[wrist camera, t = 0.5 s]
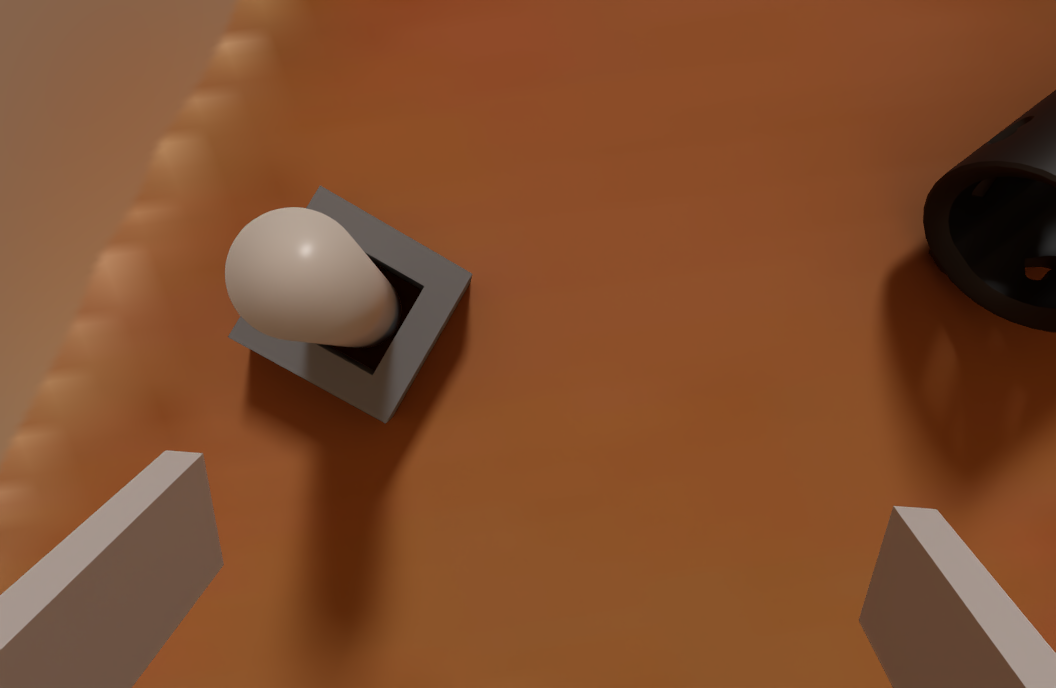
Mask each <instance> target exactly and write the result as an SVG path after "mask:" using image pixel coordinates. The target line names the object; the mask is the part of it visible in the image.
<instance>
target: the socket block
mask: <svg viewBox="0 0 1056 688" xmlns="http://www.w3.org/2000/svg"><path fill="white" fill-rule="evenodd" d="M306 209H311V210H315V211H317V212H320V213H323V214H325V215H327V216H329V217H330V218H332V219H333V220H335V221H336V222H338V223H339V224H340V225H341V226H342V227H343V228H344V229H345V230H346V231H347V232H348V233H349V234H350V235H351V237H352V238H353V239H354V240H355V241H356V243H357V244H358V245H359V246H360V247H361V249H362V250H363V251H364V252H365V253H366V255H367V256H368V257H369V258H370V259H371V261H372V262H374V263H375V264H377V265H379V266H381V267H382V268H384V269H386V270H388V271H389V272H391V273H393V274H395V275H396V276H398V277H400V278H402V279H403V280H405V281H407V282H408V283H410V284H412V285H414V286H415V287H417V288H419V289H421V290H422V292H421V293H420V295H419V297H418V298H417V300H416V302H415V304H414V305H413V307H412V309H411V310H410V312H409V314H408V315H407V317H406V319H405V321H404V322H403V324H402V326H401V327H400V329H399V331H398V333H397V334H396V336H395V338H394V339H393V341H392V343H391V345H390V346H389V348H388V350H387V351H386V353H385V355H384V357H383V358H382V360H381V362H380V363H379V365H378V367H377V369H376V370H375V371H374V370H373V369H371V368H369V367H367V366H365V365H364V364H362V363H360V362H358V361H356V360H355V359H353V358H351V357H349V356H347V355H346V354H344V353H342V352H340V351H339V350H337V349H335V348H333V347H331V346H330V345H326V344H316V343H307V342H298V341H289V340H282V339H277V338H274V337H271V336H268V335H266V334H264V333H262V332H260V331H258V330H257V329H255V328H253V327H252V326H251V325H250V324H248V323H247V322H246V321H245V320H244V319H243V318H242V317H241V316H240V318H239V320H238V321H237V323H236V325H235V326H234V328H233V330H232V331H231V333H230V335H229V336H228V337H229V338H231V339H233V340H234V341H236V342H238V343H240V344H242V345H243V346H245V347H247V348H249V349H251V350H253V351H254V352H256V353H258V354H260V355H262V356H263V357H265V358H267V359H269V360H271V361H273V362H274V363H276V364H278V365H280V366H282V367H283V368H285V369H287V370H289V371H291V372H293V373H294V374H296V375H298V376H300V377H302V378H304V379H305V380H307V381H309V382H311V383H313V384H314V385H316V386H318V387H320V388H322V389H324V390H325V391H327V392H329V393H331V394H333V395H334V396H336V397H338V398H340V399H342V400H344V401H345V402H347V403H349V404H351V405H353V406H354V407H356V408H358V409H360V410H362V411H364V412H365V413H367V414H369V415H371V416H373V417H375V418H376V419H378V420H380V421H382V422H384V423H385V424H386V423H387V422H388V421H389V420H390V419H391V418H392V417H393V415H394V414H395V412H396V410H397V408H398V407H399V405H400V403H401V402H402V400H403V398H404V396H405V395H406V393H407V391H408V389H409V388H410V386H411V384H412V382H413V381H414V379H415V377H416V376H417V374H418V372H419V370H420V369H421V367H422V365H423V363H424V362H425V360H426V358H427V357H428V355H429V353H430V351H431V350H432V348H433V346H434V344H435V343H436V341H437V339H438V338H439V336H440V334H441V332H442V331H443V329H444V327H445V325H446V324H447V322H448V320H449V319H450V317H451V315H452V313H453V312H454V310H455V308H456V306H457V305H458V303H459V301H460V300H461V298H462V296H463V294H464V293H465V291H466V289H467V287H468V286H469V284H470V282H471V278H472V273H470V272H468V271H466V270H465V269H463V268H461V267H460V266H458V265H456V264H454V263H453V262H451V261H449V260H447V259H446V258H444V257H442V256H441V255H439V254H437V253H435V252H434V251H432V250H430V249H429V248H427V247H425V246H423V245H422V244H420V243H418V242H416V241H415V240H413V239H411V238H410V237H408V236H406V235H404V234H403V233H401V232H399V231H398V230H396V229H394V228H392V227H391V226H389V225H387V224H385V223H384V222H382V221H380V220H379V219H377V218H375V217H373V216H372V215H370V214H368V213H367V212H365V211H363V210H361V209H360V208H358V207H356V206H355V205H353V204H351V203H349V202H348V201H346V200H344V199H342V198H341V197H339V196H337V195H336V194H334V193H332V192H330V191H329V190H327V189H325V188H324V187H322V186H319V188H318V190H317V191H316V193H315V195H314V196H313V198H312V200H311V201H310V203H309V205H308V206H307V208H306Z"/></svg>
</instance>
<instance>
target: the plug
mask: <svg viewBox="0 0 1056 688" xmlns="http://www.w3.org/2000/svg"><path fill="white" fill-rule="evenodd" d="M225 281H226V287H227V291H228V294H229V297H230V300H231V302H232V303H233V305H234V307H235V309H236V310H237V312H238V313H239V314H240V316H241V317H242V318H243V319H244V320H245V321H246V322H247V323H248V324H250V325H251V326H252V327H253V328H255V329H257V330H258V331H260V332H262V333H264V334H266V335H268V336H271V337H274V338H277V339H282V340H289V341H298V342H307V343H316V344H326V345H335V346H344V347H353V348H371V347H375V346H378V345H380V344H382V343H383V342H385V341H387V340H388V339H389V338H390V337H391V336H392V335H393V334H394V332H395V331H396V329H397V327H398V325H399V323H400V320H401V315H402V306H401V301H400V298H399V295H398V293H397V291H396V290H395V288H394V287H393V286H392V284H391V283H390V282H389V281H388V280H387V278H386V277H385V276H384V275H383V274H382V272H381V271H380V270H379V269H378V268H377V266H376V265H375V264H374V263H373V262H372V261H371V259H370V258H369V257H368V256H367V255H366V253H365V252H364V251H363V250H362V249H361V247H360V246H359V245H358V244H357V243H356V241H355V240H354V239H353V238H352V237H351V235H350V234H349V233H348V232H347V231H346V230H345V229H344V228H343V227H342V226H341V225H340V224H339V223H338V222H336V221H335V220H333V219H332V218H330V217H329V216H327V215H325V214H323V213H320V212H317V211H315V210H311V209H306V208H297V207H291V208H282V209H276V210H273V211H270V212H267V213H265V214H263V215H261V216H259V217H257V218H256V219H254V220H253V221H251V222H250V223H249V224H248V225H246V226H245V227H244V228H243V230H242V231H241V232H240V233H239V234H238V236H237V237H236V238H235V240H234V242H233V244H232V246H231V247H230V250H229V253H228V256H227V260H226V266H225Z"/></svg>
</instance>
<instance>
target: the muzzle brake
mask: <svg viewBox="0 0 1056 688" xmlns="http://www.w3.org/2000/svg"><path fill="white" fill-rule="evenodd" d="M923 223H924V229H925V235H926V239H927V242H928V244H929V247H930V251H929V254H930V256H931V257H932V258H933V260H934V261H935V263H936V264H937V266H938V267H939V269H940V270H941V271H942V272H944V273H946V274H947V275H948V277H949V278H950V280H951V281H952V282H953V283H954V284H955V285H956V286H957V287H958V288H959V289H960V290H961V291H962V292H963V293H964V294H966V295H967V296H968V297H969V298H971V299H972V300H973V301H975V302H976V303H977V304H979V305H980V306H982V307H984V308H985V309H987V310H989V311H990V312H992V313H993V314H995V315H998V316H1000V317H1002V318H1004V319H1006V320H1009V321H1011V322H1014V323H1017V324H1020V325H1023V326H1026V327H1029V328H1033V329H1038V330H1043V331H1048V332H1056V90H1055V91H1054V92H1052V93H1051V94H1050V95H1048V96H1047V97H1046V98H1044V99H1043V100H1042V101H1041V102H1039V103H1038V104H1037V105H1035V106H1034V107H1033V108H1031V109H1030V110H1029V111H1027V112H1026V113H1025V114H1023V115H1022V116H1021V117H1020V118H1018V119H1017V120H1016V121H1014V122H1013V123H1012V124H1010V125H1009V126H1008V127H1006V128H1005V129H1004V130H1002V131H1001V132H1000V133H998V134H997V135H996V136H995V137H993V138H992V139H991V140H990V141H988V142H987V143H985V144H984V145H983V146H981V147H980V148H979V149H977V150H976V151H975V152H973V153H972V154H971V155H970V156H968V157H967V158H966V159H964V160H963V161H962V162H960V163H959V164H958V165H956V166H955V167H954V168H952V169H951V170H950V171H949V172H947V173H946V174H945V175H944V176H943V177H942V178H941V179H939V180H938V181H937V182H936V183H935V185H934V186H933V188H932V189H931V191H930V192H929V194H928V196H927V199H926V202H925V205H924V215H923ZM1025 267H1046V268H1049V269H1052V270H1050V271H1048V273H1047V274H1046V275H1045V276H1044V277H1043V278H1042V279H1041V280H1038V281H1037V280H1031V279H1029V278H1027V277H1026V275H1025Z"/></svg>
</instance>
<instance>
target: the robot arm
mask: <svg viewBox="0 0 1056 688" xmlns="http://www.w3.org/2000/svg"><path fill="white" fill-rule="evenodd" d="M223 565H224V564H223V558H222V553H221V548H220V542H219V537H218V531H217V526H216V521H215V515H214V510H213V504H212V499H211V493H210V488H209V483H208V477H207V472H206V466H205V461H204V455H203V453H192V452H179V451H164V452H163V453H162V454H161V455H160V456H159V457H158V458H156V459H155V460H154V461H153V462H152V463H151V464H150V465H148V466H147V467H146V468H145V469H144V470H143V471H142V472H140V473H139V474H138V475H137V476H136V477H135V478H134V479H132V480H131V481H130V482H129V483H128V484H127V485H126V486H125V487H123V488H122V489H121V490H120V491H119V492H118V493H117V494H115V495H114V496H113V497H112V498H111V499H110V500H109V501H107V502H106V503H105V504H104V505H103V506H102V507H101V508H99V509H98V510H97V511H96V512H95V513H94V514H93V515H91V516H90V517H89V518H88V519H87V520H86V521H85V522H83V523H82V524H81V525H80V526H79V527H78V528H77V529H75V530H74V531H73V532H72V533H71V534H70V535H69V536H67V537H66V538H65V539H64V540H63V541H62V542H61V543H59V544H58V545H57V546H56V547H55V548H54V549H53V550H52V551H50V552H49V553H48V554H47V555H46V556H45V557H44V558H42V559H41V560H40V561H39V562H38V563H37V564H36V565H34V566H33V567H32V568H31V569H30V570H29V571H28V572H26V573H25V574H24V575H23V576H22V577H21V578H20V579H18V580H17V581H16V582H15V583H14V584H13V585H12V586H10V587H9V588H8V589H7V590H6V591H5V592H4V593H2V594H1V595H0V688H132V686H133V685H134V684H135V682H136V681H137V680H138V678H139V677H140V676H141V674H142V673H143V672H144V670H145V669H146V668H147V666H148V665H149V664H150V662H151V661H152V660H153V658H154V657H155V656H156V654H157V653H158V652H159V650H160V649H161V648H162V646H163V645H164V644H165V642H166V641H167V640H168V638H169V637H170V636H171V634H172V633H173V632H174V630H175V629H176V628H177V626H178V625H179V624H180V622H181V621H182V620H183V618H184V617H185V616H186V614H187V613H188V612H189V610H190V609H191V608H192V606H193V605H194V604H195V602H196V601H197V600H198V598H199V597H200V596H201V594H202V593H203V592H204V590H205V589H206V588H207V586H208V585H209V584H210V582H211V581H212V580H213V578H214V577H215V576H216V574H217V573H218V572H219V570H220V569H221V568H222V566H223ZM859 622H860V624H861V626H862V628H863V630H864V632H865V634H866V636H867V638H868V639H869V641H870V643H871V645H872V647H873V649H874V651H875V653H876V655H877V657H878V659H879V661H880V663H881V665H882V667H883V669H884V671H885V673H886V675H887V677H888V679H889V681H890V683H891V685H892V687H893V688H1056V653H1055V652H1054V651H1053V650H1052V648H1051V647H1050V646H1049V645H1048V643H1047V642H1046V641H1045V640H1044V639H1043V637H1042V636H1041V635H1040V634H1039V633H1038V631H1037V630H1036V629H1035V628H1034V627H1033V625H1032V624H1031V623H1030V622H1029V620H1028V619H1027V618H1026V617H1025V616H1024V614H1023V613H1022V612H1021V611H1020V610H1019V608H1018V607H1017V606H1016V605H1015V603H1014V602H1013V601H1012V600H1011V599H1010V597H1009V596H1008V595H1007V594H1006V593H1005V591H1004V590H1003V589H1002V588H1001V587H1000V585H999V584H998V583H997V582H996V580H995V579H994V578H993V577H992V576H991V574H990V573H989V572H988V571H987V570H986V568H985V567H984V566H983V565H982V564H981V562H980V561H979V560H978V559H977V557H976V556H975V555H974V554H973V553H972V551H971V550H970V549H969V548H968V547H967V545H966V544H965V543H964V542H963V541H962V539H961V538H960V537H959V536H958V534H957V533H956V532H955V531H954V530H953V528H952V527H951V526H950V525H949V524H948V522H947V521H946V520H945V519H944V517H943V516H942V515H941V514H940V513H939V511H938V510H937V509H926V508H913V507H900V506H893V509H892V512H891V516H890V519H889V522H888V526H887V529H886V532H885V535H884V539H883V542H882V545H881V549H880V552H879V555H878V559H877V562H876V565H875V568H874V572H873V575H872V578H871V582H870V585H869V588H868V591H867V595H866V598H865V601H864V605H863V608H862V611H861V615H860V618H859Z"/></svg>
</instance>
